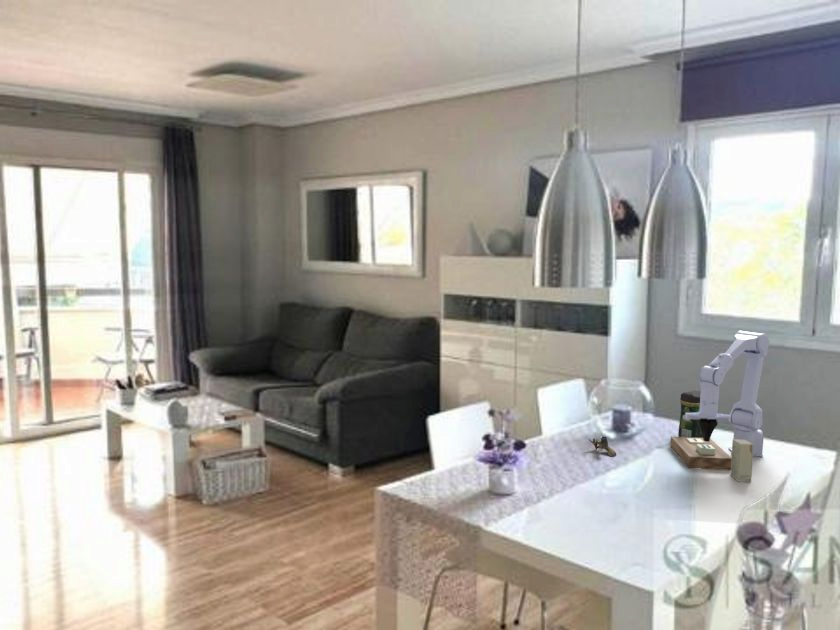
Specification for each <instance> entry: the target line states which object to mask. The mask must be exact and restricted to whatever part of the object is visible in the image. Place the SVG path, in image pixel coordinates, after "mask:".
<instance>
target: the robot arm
mask: <svg viewBox="0 0 840 630" xmlns="http://www.w3.org/2000/svg"><path fill="white" fill-rule="evenodd" d="M769 346H770V339H769V337H768V335H767V334H766V333H764V332H763V333H759V332H751V331H744V330H738V331H737V332H736V334H734V336H733V343H731V345H730V346H729V348H728V349H727V350H726V351H725V353H724V352H721V353H718V355H717V356H716V357H715V358H714V359H713V360H712V361H710V362H709V364H708V365H704V366H702V367H701V368H700V369H699V371H698V374H697V379H698V381H699V387H700V391H701V395H700V409H699V412H695V413H685V418H686V419H688V420H690V419H698V421H699V424H700V426H701V429H702V433H703V440H704V441H708V442H709V440H710V439H711V436H712V434H713V432H714V430H715V429H716V427H717V426H718V423H719V422H718V421H720V422H721V421H723V422H729V423H730V424H731V425H732V428H733V438H732V440H733V439H741V440H747V441H749V442H750V443H752V444H753V445H754V446H753V457H764V454H763V452H764V451H763V448H764V434H763V430H762V429H761V427H762V426H763V423H764V421H763V409H762V408H761V407H760V406H759V405H758V403H757V398H758V393H759V388H760V383H761V381H760V380H761V375H762V369H763V364H764V359H765V358H766V357H767V356H768V352H769ZM742 353H743V354H744V355H745V356H746V358H747V359H746V366H745V371H744V378H743V382H742V383H743V384H742V390H741V395H740V400H738V401H737V402H735V403H733V404H732V409H731V411H730V413H729V414H727V413H726V414H724V413H718V411H719V410H718V409H719V397H720V385H721V384H723V382H724V380H725V377H726V374H727V372H728V371H729V370H730V369H731V368H732V367H733V366H734V364H735V363H734V362H735V361H734V360H736V358H738V357H739V356H740V355H741V354H742ZM728 450H730V452H732V447H728Z"/></svg>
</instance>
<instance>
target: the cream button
mask: <svg viewBox="0 0 840 630" xmlns="http://www.w3.org/2000/svg"><path fill="white" fill-rule="evenodd" d="M686 441H687V442H688V443H689V444H704V442H703V441H702V440H701V439H697V438H686Z"/></svg>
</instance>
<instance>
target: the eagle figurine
mask: <svg viewBox="0 0 840 630" xmlns="http://www.w3.org/2000/svg"><path fill="white" fill-rule="evenodd" d="M588 441H589V442H590V443H591V444H593V446H594V447H595V450H596V451H597V450H598V455H600V454H601V453H602V452H603V450H605V451H606V452H607V454H608V456H609V457H613V458H615V457H616V456H617V453H616V451H615V450H614V449H613V448H612V447H611V446H609V442H608V438H607V437H606V436H600V441H599V440H598V438H593V439H592V440H591V439H590V438H588Z"/></svg>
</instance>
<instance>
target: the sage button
mask: <svg viewBox="0 0 840 630" xmlns="http://www.w3.org/2000/svg"><path fill="white" fill-rule="evenodd" d="M696 451H697V452H698V453H699V454H706V455H715V448H714V447H713V446H712V445H705V444H697V446H696Z"/></svg>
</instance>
